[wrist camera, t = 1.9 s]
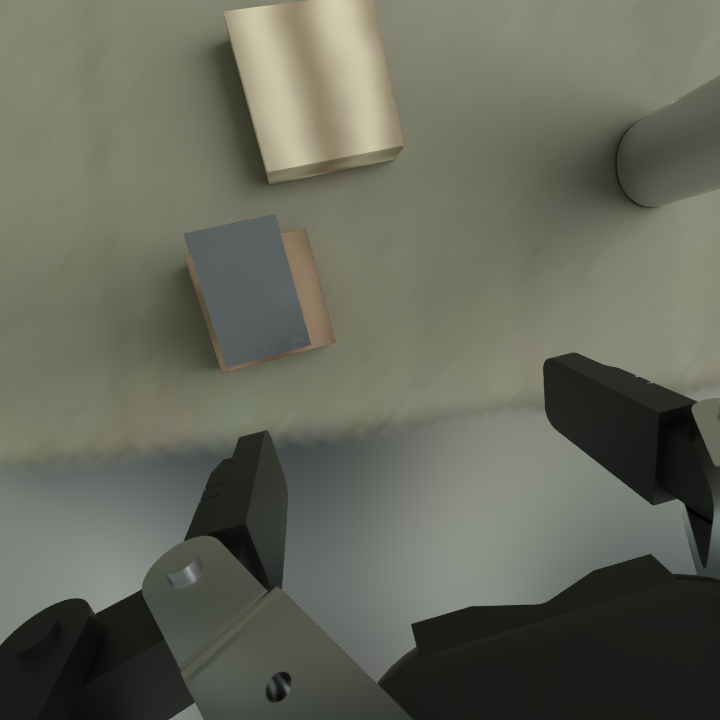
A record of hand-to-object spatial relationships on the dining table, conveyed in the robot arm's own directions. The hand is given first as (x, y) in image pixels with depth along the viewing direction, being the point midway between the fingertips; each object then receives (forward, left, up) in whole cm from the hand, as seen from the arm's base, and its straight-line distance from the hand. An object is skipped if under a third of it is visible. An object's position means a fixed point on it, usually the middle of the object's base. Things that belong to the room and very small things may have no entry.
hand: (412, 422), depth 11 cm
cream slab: (-10, -20, -26) cm, 34 cm away
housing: (+3, -7, -23) cm, 24 cm away
